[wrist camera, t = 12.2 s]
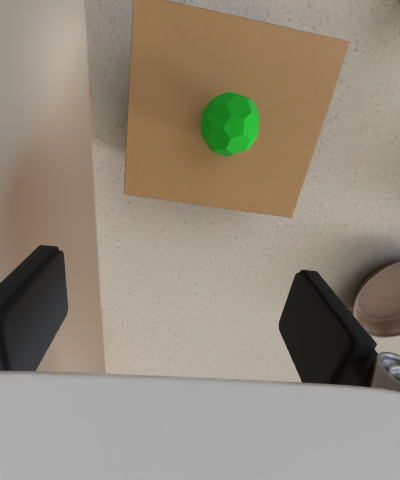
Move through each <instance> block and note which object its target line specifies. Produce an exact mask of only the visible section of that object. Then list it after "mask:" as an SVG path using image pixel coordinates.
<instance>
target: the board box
mask: <svg viewBox="0 0 400 480" xmlns="http://www.w3.org/2000/svg"><path fill="white" fill-rule="evenodd" d="M349 43H350V42H349V41H344V40H340V39H335V38H331V37H326V36H322V35H318V34H313V33H309V32H304V31H300V30H295V29H291V28H286V27H282V26H277V25H273V24H269V23H264V22H260V21H255V20H251V19H246V18H242V17H237V16H233V15H229V14H224V13H220V12H215V11H211V10H206V9H202V8H197V7H193V6H188V5H184V4H180V3H175V2H171V1H166V0H133V13H132V34H131V55H130V77H129V98H128V119H127V141H126V162H125V183H124V194H126V195H133V196H140V197H147V198H154V199H161V200H168V201H175V202H182V203H190V204H197V205H204V206H211V207H218V208H225V209H232V210H239V211H246V212H253V213H260V214H267V215H274V216H282V217H289V218H293V215H294V212H295V209H296V206H297V203H298V200H299V197H300V193H301V190H302V187H303V184H304V181H305V178H306V175H307V172H308V169H309V166H310V163H311V160H312V157H313V154H314V150H315V147H316V144H317V141H318V138H319V135H320V132H321V129H322V126H323V123H324V120H325V117H326V114H327V111H328V107H329V104H330V101H331V98H332V95H333V92H334V89H335V86H336V83H337V80H338V77H339V74H340V71H341V68H342V64H343V61H344V58H345V55H346V52H347V49H348V46H349ZM226 92H233V93H236V94H239V95H242V96H245V97H247V98H249V99H251V100H252V101H253V103H254V104H255V106H256V108H257V109H258V111H259V127H258V137H257V139H256V141H255V142H254V143H253V145H252V146H251V147H250V149H248V150H245V151H242V152H240V153H237V154H234V155H232V156H229V157H225V156H221V155H218V154H215V153H214V152H213V151H212V150H211V149H210V148H209V147H208V146H207V144H206V143H205V142H204V140H203V138H202V135H201V117H202V113H203V111H204V109H205V108H206V106H207V105H208V103H209V102H210V101H211V100H212V99H213V98H215V97H216V96H219V95H221V94H224V93H226Z"/></svg>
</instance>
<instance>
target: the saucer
mask: <svg viewBox="0 0 400 480" xmlns="http://www.w3.org/2000/svg"><path fill="white" fill-rule="evenodd" d="M353 316H354V317H355V318H356V319H357V321H358V322H359V323H360V324H361V325H362V327H363V328H364V329H365V330H366V331H367V333H368V334H369V335H371V336H374V337H382V338H388V337H396V336H400V260H399V261H396V262H393V263H390V264H387V265H385V266H383V267H381V268H379V269H378V270H376V271H375V272H373V273H372V274H371V275H370V276H369V277H368V278H367V279H366V280H365V281H364V282H363V283H362V285H361V286H360V288H359V289H358V291H357V293H356V296H355V299H354V303H353Z"/></svg>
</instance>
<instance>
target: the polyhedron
mask: <svg viewBox="0 0 400 480" xmlns="http://www.w3.org/2000/svg"><path fill="white" fill-rule="evenodd" d="M258 127H259V111H258V109H257V108H256V106H255V104H254V103H253V101H252V100H251V99H249V98H247V97H245V96H242V95H239V94H236V93H233V92H226V93H224V94H221V95H219V96H216V97H215V98H213V99H212V100H211V101H210V102H209V103H208V105H207V106H206V108H205V109H204V111H203V113H202V117H201V135H202V138H203V140H204V142H205V143H206V144H207V146H208V147H209V148H210V149H211V150H212V151H213V152H214V153H215V154H218V155H221V156H225V157H229V156H232V155H234V154H237V153H240V152H242V151H245V150H248V149H250V147H251V146H252V145H253V143H254V142H255V141H256V139H257V137H258Z"/></svg>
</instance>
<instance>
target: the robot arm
mask: <svg viewBox="0 0 400 480" xmlns="http://www.w3.org/2000/svg"><path fill="white" fill-rule="evenodd" d="M67 311H68V301H67V288H66V276H65V263H64V254H63V251H59V249H58V247H56V246H45V245H40V246H39V247H38V248H37V249H35V250H34V251H33V252H32V253H31V254H30V255H29V256H28V257H27V258H26V259H25V260H24V261H23V262H22V263H21V264H20V265H19V266H18V267H17V268H16V269H15V270H14V271H13V272H12V273H10V274H9V275H8V276H7V277H6V278H5V279H4V280H3V281H2V282H1V283H0V480H400V355H398V354H395V353H391V352H381V353H379V354H378V353H377V352H376V351H375V350H374V349H375V347H376V345H377V344H376V342H375V341H374V340H373V339H372V338H371V336H370V335H369V334H368V333H367V331H366V330H365V329H364V328H363V327H362V325H361V324H360V323H359V322H358V321H357V319H356V318H355V317H354V316H353V315H352V313H351V312H350V311H349V310H348V309H347V307H346V306H345V305H344V304H343V302H342V301H341V300H340V299H339V298H338V296H337V295H336V294H335V293H334V292H333V290H332V289H331V288H330V287H329V286H328V284H327V283H326V282H325V281H324V280H323V278H322V277H321V276H320V275H319V273H318V272H316V271H310V270H301V271H300V272H299V273H296V275H295V277H294V280H293V283H292V286H291V289H290V292H289V295H288V298H287V301H286V303H285V306H284V309H283V312H282V315H281V318H280V321H279V330H280V333H281V335H282V337H283V340H284V342H285V344H286V346H287V349H288V351H289V353H290V356H291V358H292V360H293V362H294V365H295V367H296V369H297V372H298V374H299V376H300V378H301V381H302V383H300V382H280V381H261V380H241V379H219V378H197V377H175V376H152V375H126V374H101V373H74V372H45V371H36V369H37V367H38V365H39V364H40V362H41V360H42V358H43V357H44V355H45V353H46V351H47V349H48V348H49V346H50V344H51V342H52V340H53V339H54V337H55V335H56V333H57V331H58V330H59V328H60V326H61V324H62V323H63V321H64V319H65V317H66V315H67Z"/></svg>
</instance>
